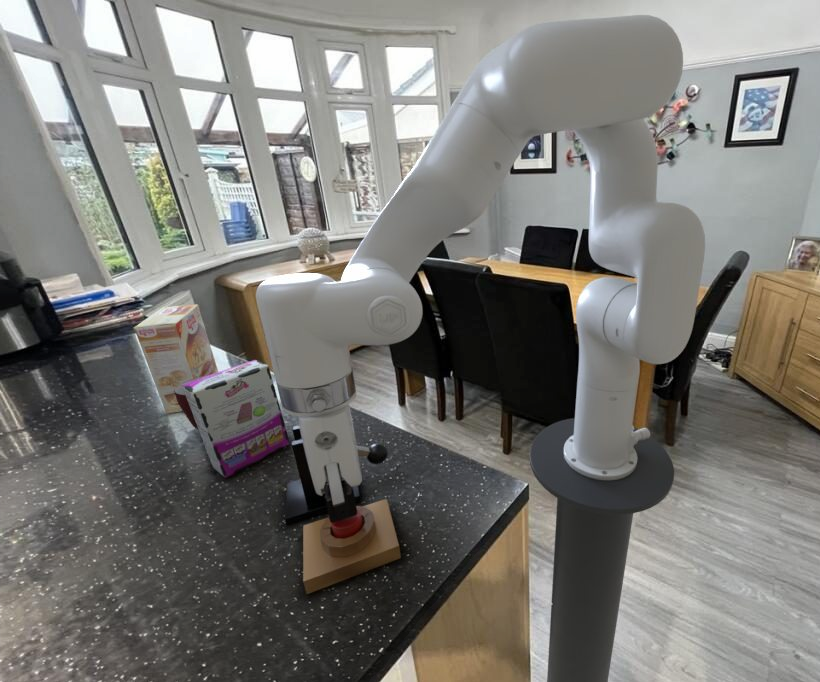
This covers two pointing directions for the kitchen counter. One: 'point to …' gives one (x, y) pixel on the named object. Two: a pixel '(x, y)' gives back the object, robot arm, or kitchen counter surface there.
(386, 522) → the button block
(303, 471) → the switch bracket
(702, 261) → the robot arm
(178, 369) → the coffeecake box
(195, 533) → the kitchen counter surface
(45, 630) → the kitchen counter surface
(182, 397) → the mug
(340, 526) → the button
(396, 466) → the kitchen counter surface
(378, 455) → the switch lever
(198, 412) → the candy bar box
